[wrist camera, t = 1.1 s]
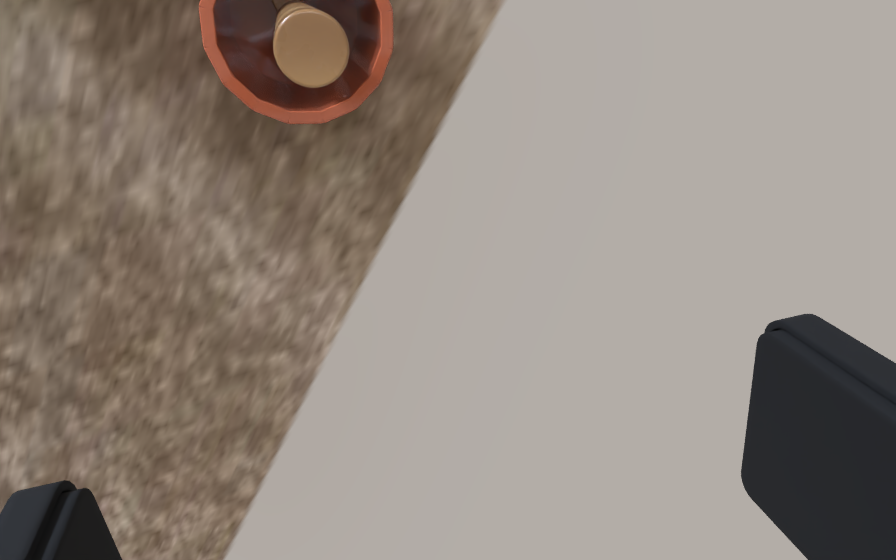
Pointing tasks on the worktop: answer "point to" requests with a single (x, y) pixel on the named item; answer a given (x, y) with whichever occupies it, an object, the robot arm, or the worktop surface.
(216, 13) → the crock
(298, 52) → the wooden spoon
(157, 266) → the worktop surface
